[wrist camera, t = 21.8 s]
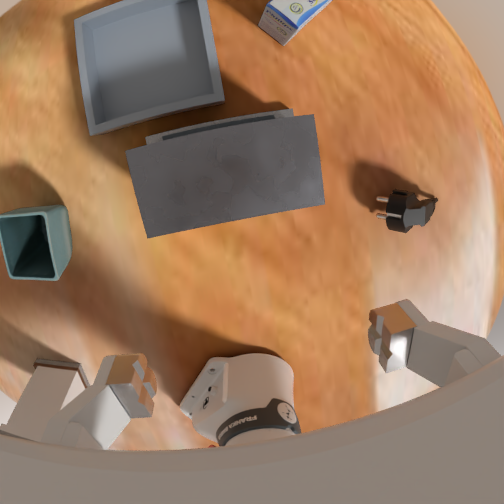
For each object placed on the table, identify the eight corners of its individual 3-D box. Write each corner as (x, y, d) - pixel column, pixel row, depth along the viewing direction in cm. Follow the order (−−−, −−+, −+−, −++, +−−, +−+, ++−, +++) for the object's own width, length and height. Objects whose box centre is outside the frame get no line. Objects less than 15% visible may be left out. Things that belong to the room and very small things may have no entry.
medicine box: (295, -8, 29) (312, -36, 21) (321, 12, 31) (344, -11, 23) (256, 26, 31) (265, 2, 23) (283, 47, 33) (300, 28, 25)
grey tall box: (37, 358, 48) (-31, 501, 15) (80, 363, 48) (21, 528, 16) (57, 397, 52) (10, 529, 20) (98, 403, 53) (61, 550, 21)
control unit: (301, 184, 40) (336, 213, 27) (165, 210, 40) (140, 250, 27) (289, 109, 36) (323, 102, 23) (147, 136, 36) (112, 142, 23)
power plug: (439, 217, 43) (418, 242, 35) (398, 209, 48) (367, 231, 41) (441, 182, 40) (420, 199, 33) (398, 176, 46) (367, 191, 38)
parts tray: (224, 103, 35) (224, 100, 31) (103, 134, 35) (89, 135, 30) (204, -6, 29) (202, -20, 24) (87, 28, 28) (74, 19, 24)
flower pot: (29, 197, 36) (-6, 215, 28) (77, 193, 37) (45, 211, 29) (38, 253, 40) (9, 279, 32) (85, 252, 41) (59, 281, 32)
